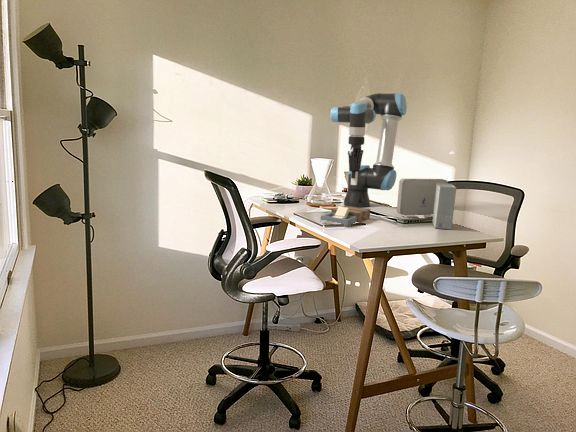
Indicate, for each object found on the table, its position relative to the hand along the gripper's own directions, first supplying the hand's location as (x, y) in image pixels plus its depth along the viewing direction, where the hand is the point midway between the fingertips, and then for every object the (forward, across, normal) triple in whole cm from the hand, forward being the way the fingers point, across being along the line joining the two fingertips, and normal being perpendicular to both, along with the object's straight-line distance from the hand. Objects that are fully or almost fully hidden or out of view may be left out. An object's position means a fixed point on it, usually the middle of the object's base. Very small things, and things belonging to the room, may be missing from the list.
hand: (353, 184), depth 229 cm
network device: (+18, -30, +25) cm, 43 cm away
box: (+17, +14, 0) cm, 22 cm away
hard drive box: (+18, -16, +40) cm, 47 cm away
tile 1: (+14, +16, 0) cm, 21 cm away
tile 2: (+13, +10, 0) cm, 17 cm away
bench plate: (+17, +2, 0) cm, 17 cm away
